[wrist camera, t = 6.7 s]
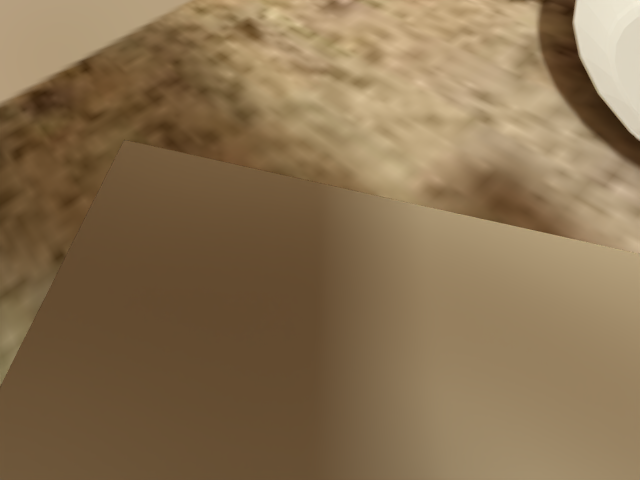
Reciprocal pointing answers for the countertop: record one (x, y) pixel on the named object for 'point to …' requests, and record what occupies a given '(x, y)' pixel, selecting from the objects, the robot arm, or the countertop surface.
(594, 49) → the plate
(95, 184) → the countertop surface
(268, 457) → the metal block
